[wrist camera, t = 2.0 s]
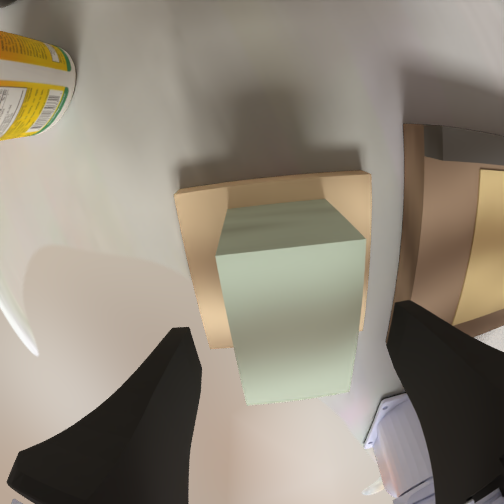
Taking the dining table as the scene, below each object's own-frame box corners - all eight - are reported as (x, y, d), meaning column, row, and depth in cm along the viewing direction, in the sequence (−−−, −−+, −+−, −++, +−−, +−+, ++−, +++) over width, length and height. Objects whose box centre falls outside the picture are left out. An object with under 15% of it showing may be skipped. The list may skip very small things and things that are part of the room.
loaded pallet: (355, 316, 17) (392, 393, 11) (212, 332, 17) (199, 418, 11) (359, 169, 13) (431, 201, 8) (181, 188, 14) (133, 233, 8)
